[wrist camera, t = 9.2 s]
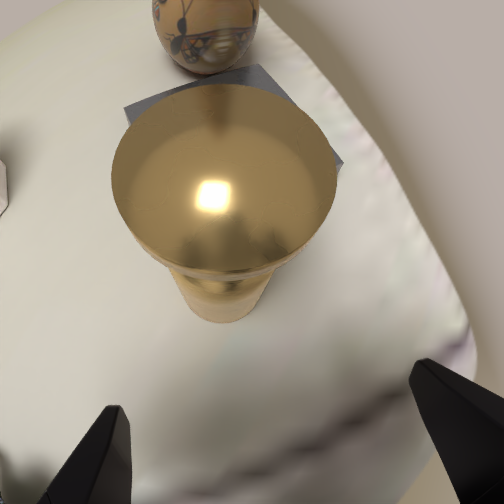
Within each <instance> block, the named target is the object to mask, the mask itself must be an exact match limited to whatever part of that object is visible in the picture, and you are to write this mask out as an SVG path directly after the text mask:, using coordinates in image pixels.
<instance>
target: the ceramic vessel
mask: <svg viewBox="0 0 504 504" xmlns="http://www.w3.org/2000/svg"><path fill="white" fill-rule="evenodd" d="M152 13H153V20H154V25H155V29H156V32H157V35H158V37H159V39H160V41H161V43H162V45H163V47H164V48H165V50H166V51H167V53H168V54H169V55H170V56H171V57H172V58H173V59H174V60H175V61H176V62H177V63H178V64H179V65H181V66H182V67H184V68H185V69H187V70H189V71H192V72H194V73H198V74H205V75H208V74H215V73H219V72H221V71H224V70H226V69H228V68H229V67H231V66H232V65H234V64H235V63H236V62H237V61H238V60H239V59H240V58H241V57H242V56H243V55H244V53H245V52H246V51H247V49H248V47H249V46H250V44H251V42H252V40H253V37H254V35H255V32H256V28H257V24H258V18H259V0H152Z"/></svg>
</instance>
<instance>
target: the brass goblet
mask: <svg viewBox="0 0 504 504" xmlns="http://www.w3.org/2000/svg"><path fill="white" fill-rule="evenodd" d="M111 181H112V191H113V196H114V200H115V203H116V205H117V208H118V210H119V213H120V214H121V216H122V218H123V219H124V221H125V223H126V224H127V226H128V228H129V229H130V231H131V233H132V234H133V236H134V238H135V239H136V241H137V242H138V243H139V244H140V245H141V247H142V248H143V249H144V250H145V251H146V252H147V253H148V254H150V255H151V256H152V257H153V258H154V259H155V260H157V261H158V262H160V263H162V264H163V265H165V266H166V267H168V268H169V270H170V272H171V274H172V276H173V278H174V280H175V282H176V283H177V285H178V287H179V289H180V291H181V293H182V295H183V297H184V299H185V301H186V302H187V304H188V306H189V307H190V309H191V310H192V311H193V312H194V313H195V314H197V315H198V316H199V317H201V318H203V319H205V320H207V321H210V322H214V323H229V322H234V321H236V320H239V319H241V318H243V317H244V316H246V315H247V314H248V313H249V312H250V311H251V310H252V309H253V308H254V306H255V305H256V303H257V301H258V300H259V298H260V296H261V294H262V292H263V291H264V289H265V287H266V285H267V283H268V282H269V280H270V278H271V276H272V274H273V272H274V271H275V269H277V268H278V267H280V266H282V265H284V264H286V263H287V262H288V261H290V260H291V259H292V258H294V257H295V256H296V255H298V254H299V253H300V252H301V251H302V250H303V249H304V248H305V247H306V246H307V244H308V243H309V242H310V240H311V239H312V238H313V236H314V235H315V233H316V232H317V231H318V229H319V228H320V226H321V225H322V223H323V222H324V220H325V218H326V216H327V215H328V213H329V211H330V209H331V206H332V203H333V200H334V197H335V193H336V187H337V169H336V162H335V158H334V155H333V152H332V149H331V147H330V144H329V142H328V140H327V138H326V137H325V135H324V134H323V132H322V131H321V129H320V128H319V127H318V125H317V124H316V123H315V122H314V121H313V120H312V119H311V118H310V117H309V116H308V115H307V114H306V113H305V112H304V111H303V110H301V109H300V108H298V107H297V106H296V105H294V104H293V103H291V102H289V101H288V100H286V99H284V98H282V97H280V96H278V95H276V94H274V93H271V92H268V91H265V90H262V89H259V88H254V87H250V86H244V85H237V84H211V85H204V86H198V87H193V88H189V89H186V90H183V91H180V92H177V93H174V94H172V95H170V96H168V97H166V98H164V99H162V100H160V101H159V102H157V103H155V104H154V105H152V106H151V107H150V108H148V109H147V110H146V111H144V112H143V113H142V114H141V115H140V116H139V117H138V118H137V119H136V120H135V121H134V122H133V123H132V124H131V126H130V127H129V128H128V129H127V131H126V132H125V134H124V136H123V137H122V139H121V141H120V143H119V145H118V147H117V150H116V153H115V156H114V160H113V164H112V172H111Z"/></svg>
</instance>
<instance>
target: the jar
mask: <svg viewBox="0 0 504 504" xmlns="http://www.w3.org/2000/svg"><path fill="white" fill-rule="evenodd" d="M7 206H8V197H7V180H6V166H5V165H4V163H3V162H2V161H1V160H0V215H1V214H2V212H3V211H4V210H5V208H6V207H7Z"/></svg>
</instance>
